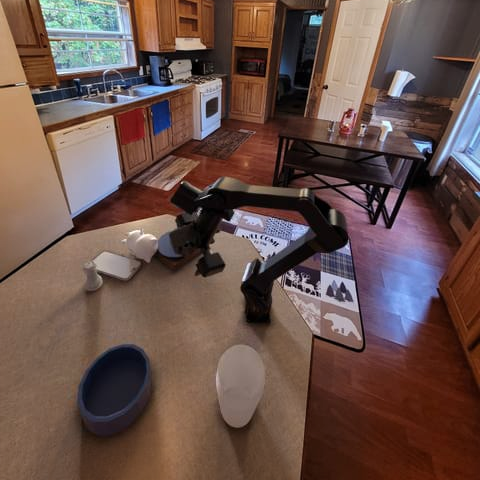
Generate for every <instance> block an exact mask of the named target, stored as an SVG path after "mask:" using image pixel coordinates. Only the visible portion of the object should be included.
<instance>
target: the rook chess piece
mask: <svg viewBox="0 0 480 480" xmlns="http://www.w3.org/2000/svg"><path fill="white" fill-rule="evenodd" d="M96 267H97V264H96V263H95V262H94V261H93V260H92V261H90V260H89V261H88V262H86V263H85V264H84V266H83V271H84V273H85V275H86V279H85V282H84V288H85V290H86V291H89V292H94V291H96V290H98V289H99V288H100V287H101V286H102V285H103V278H102V276H101V275H99V274H98V272H97V268H96Z"/></svg>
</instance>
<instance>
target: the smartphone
mask: <svg viewBox="0 0 480 480" xmlns="http://www.w3.org/2000/svg"><path fill="white" fill-rule="evenodd" d="M92 261H94V262H95V263H96V264H97V267H96V268H97V271H96V272H97V273H100V274H102V275H105V276H106V275H107V276H109V277H112V278H114V279H118V280H121V281H129V280H130V279H131V278H132V277H133V275H134V274H135V273H136V272H137V271H138V270H139V269H140V268H141V266H142V262H141V261H139V260H137V259H133V258H129V257H126V256H123V255H120V254H117V253H114V252H109V251H102V252H101V253H100V254H99V255H97V256H96V257H95V258H94V259H93V260H92Z"/></svg>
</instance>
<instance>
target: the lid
mask: <svg viewBox="0 0 480 480" xmlns="http://www.w3.org/2000/svg"><path fill="white" fill-rule="evenodd" d="M176 229H178V228H177V227H175V228H173V229H172V230H169V231H167V232H164V233H163V234H162V235H161V236H159V237H158V241H157V242H158V248H157V250H158V252H159V253H160V254H161V255H163V256H165V257H168V258H180V257H182V255H177V254H175V252H174V250H173V248H172V245H171V243H170V237H169V233H170V232H171V231H173V230H176Z"/></svg>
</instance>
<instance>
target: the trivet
mask: <svg viewBox="0 0 480 480" xmlns="http://www.w3.org/2000/svg"><path fill="white" fill-rule="evenodd" d="M200 253H202V252H201V250H200V248H199V249H196V250H194V253H193V254H191V255H189V256H186V257H180V258H168V257H165V256H163V255H161V254H160V253H159V252H158V250H157V251H156V253H155V254H154V256H155V257H156V258H158V260H160V261H162V263H164V264H165V265H166V266H168V268H170V269H171V270H172V271H173V272H176V271H177V270H179V269H180V268H181V267H183V266H184V265H185V264H187V263H189V261H191V260H192V259H194V258H195V257H196V256H198V255H199V254H200Z"/></svg>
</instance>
